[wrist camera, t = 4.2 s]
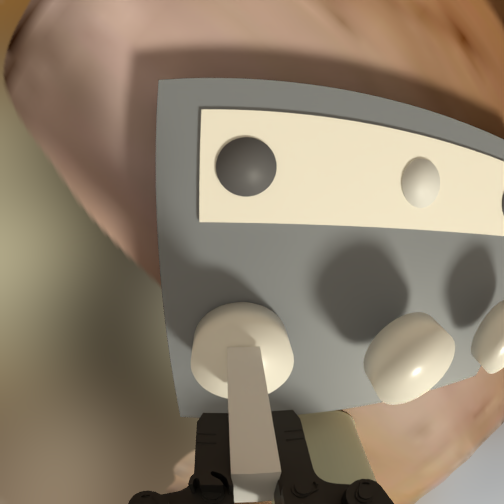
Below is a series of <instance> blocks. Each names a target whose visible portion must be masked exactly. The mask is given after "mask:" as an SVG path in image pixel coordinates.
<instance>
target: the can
mask: <svg viewBox="0 0 504 504" xmlns="http://www.w3.org/2000/svg"><path fill="white" fill-rule="evenodd" d="M298 417H299V418H300V420H301V423H302V427H303V431H304V435H305V440H306V443H307V447H308V451H309V454H310V458H311V462H312V466H313V469H314V472H315V473H316V475H317V476H318V477H319V478H321V479H322V480H324V481H326V482H330V483H337V484H352V483H353V482H354V481H356V480H360V479H371V480H373V481H376V479H375V476H374V474H373V471H372V469H371V466H370V464H369V461H368V459H367V456H366V454H365V451H364V449H363V446H362V444H361V441H360V439H359V436H358V433H357V431H356V428H355V422H354V420H353V418H352V417H351V416H350V415H349V414H347V413H345V412H342V411H338V410H334V411H327V412H319V413H310V414H300V415H298ZM272 504H275V501H274V499H273V501H272Z"/></svg>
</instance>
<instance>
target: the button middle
mask: <svg viewBox="0 0 504 504" xmlns="http://www.w3.org/2000/svg"><path fill="white" fill-rule="evenodd" d="M454 353H455V342H454V340H453V338H452V337H451V336H450V335H449V334H448V333H447V332H446V331H445V330H444V329H443V328H442V327H441V326H440V325H439V324H438V323H437V322H436V321H435V320H434V319H433V318H432V317H431V316H430V315H428V314H426V313H422V312H414V313H409V314H406V315H404V316H401V317H399V318H397V319H395V320H394V321H392V322H391V323H389V324H388V325H387V326H386V327H384V328H383V329H382V330H381V331H380V332H379V333H378V334H377V335H376V337H375V338H374V339H373V340H372V342H371V344H370V345H369V347H368V349H367V351H366V354H365V357H364V362H363V366H364V371H365V373H366V375H367V377H368V379H369V381H370V382H371V384H372V386H373V388H374V390H375V392H376V394H377V395H378V397H379V399H380V400H381V401H382V402H384V403H386V404H391V405H396V404H403V403H406V402H409V401H412V400H414V399H416V398H418V397H420V396H421V395H423V394H424V393H426V392H427V391H428V390H430V389H431V388H432V387H433V386H434V385H435V384H436V383H437V382H438V381H439V380H440V379H441V378H442V377H443V376H444V374H445V373H446V371H447V370H448V368H449V366H450V365H451V362H452V360H453V357H454Z"/></svg>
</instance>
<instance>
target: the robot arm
mask: <svg viewBox="0 0 504 504" xmlns="http://www.w3.org/2000/svg"><path fill="white" fill-rule="evenodd" d="M227 387H228V413H203V414H202V415H201V417H200V418H199V420H198V422H197V432H196V433H197V435H196V450H195V470H194V474H193V475H192V476H191V477H190V480H189V483H188V485H189V486H188V487H187V488H185V489H183V490H181V491H178V492H173V493H168V494H163V495H160V494H158V493H156V492H152V491H143V492H139V493H137V494H135V495H134V496H133V497H132V498H131V500H130V501H129V504H234V503H240V502H262V501H273V499H274V501H275V504H394V503H393V502H392V500H391V499H390V498H389V496H388V495H387V494H386V492H385V491H384V490H383V488H382V487H381V486H380V485H379V484H378V483H377V482H376V481H373V480H371V479H360V480H356V481H354V482H353V483H352V484H337V483H330V482H326V481H324V480H322V479H321V478H319V477H318V476H317V475H316V473H315V472H314V469H313V466H312V462H311V458H310V454H309V451H308V447H307V443H306V440H305V435H304V431H303V427H302V423H301V420H300V418H299V417H298V415H297V414H296V413H295V412H294V411H293V410H281V411H271V408H270V402H269V397H268V391H267V385H266V379H265V373H264V367H263V361H262V355H261V349H260V346H259V347H227Z"/></svg>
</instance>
